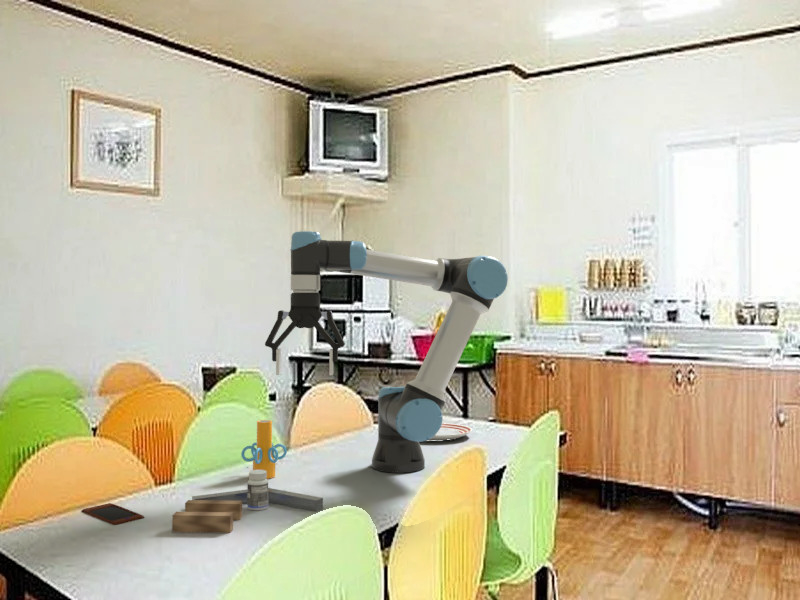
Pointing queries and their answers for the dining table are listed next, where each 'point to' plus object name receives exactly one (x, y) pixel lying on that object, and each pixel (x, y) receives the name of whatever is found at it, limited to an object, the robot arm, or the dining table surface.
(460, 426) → the dinner plate
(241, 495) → the v block
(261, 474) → the pill bottle
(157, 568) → the dining table surface
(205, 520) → the wooden blocks
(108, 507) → the smartphone
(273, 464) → the cylinder
